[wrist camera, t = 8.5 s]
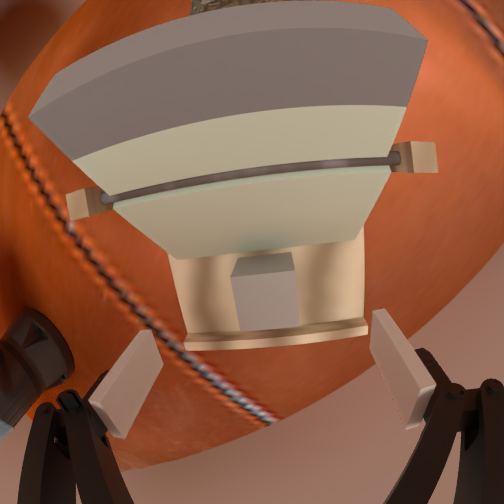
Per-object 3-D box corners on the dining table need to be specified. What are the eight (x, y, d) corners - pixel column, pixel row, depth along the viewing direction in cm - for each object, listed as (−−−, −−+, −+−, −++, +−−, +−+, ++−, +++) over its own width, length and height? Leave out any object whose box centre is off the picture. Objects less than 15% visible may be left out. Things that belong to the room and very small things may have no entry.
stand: (184, 337, 33) (144, 417, 20) (141, 109, 26) (59, 79, 12) (368, 319, 31) (410, 399, 17) (349, 78, 23) (402, 18, 10)
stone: (237, 257, 29) (245, 305, 30) (230, 277, 23) (240, 331, 25) (291, 251, 28) (295, 300, 29) (295, 270, 23) (299, 326, 24)
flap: (177, 229, 30) (177, 259, 29) (45, 80, 9) (18, 123, 8) (348, 209, 28) (354, 239, 27) (404, 10, 7) (443, 44, 6)
